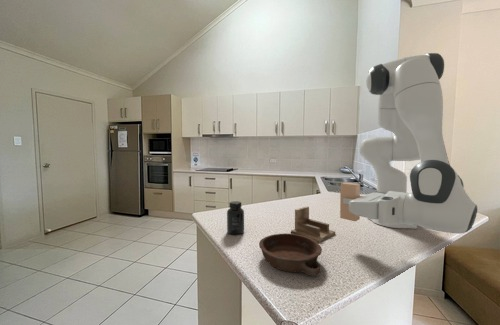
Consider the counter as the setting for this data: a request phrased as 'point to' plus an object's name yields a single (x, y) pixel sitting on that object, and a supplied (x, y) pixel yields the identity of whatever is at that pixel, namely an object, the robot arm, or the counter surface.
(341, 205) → the clay block
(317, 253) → the dish
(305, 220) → the tan railed base plate
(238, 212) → the supplement bottle
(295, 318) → the counter surface
